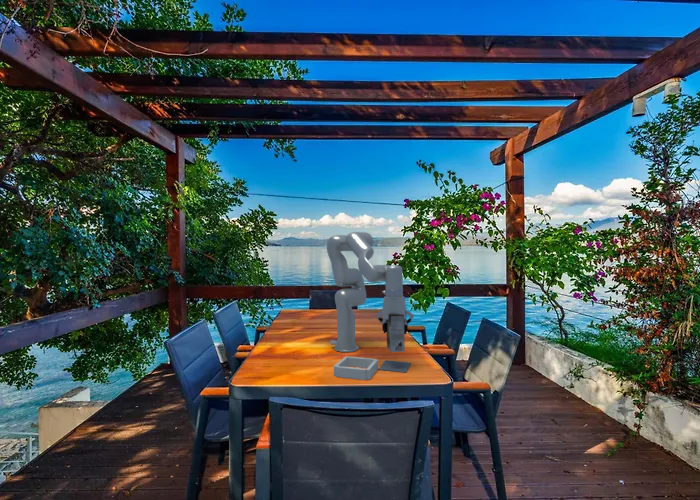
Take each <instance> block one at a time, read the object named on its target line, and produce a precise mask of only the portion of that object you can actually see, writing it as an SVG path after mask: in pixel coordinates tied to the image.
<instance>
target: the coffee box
mask: <svg viewBox="0 0 700 500" xmlns="http://www.w3.org/2000/svg"><path fill="white" fill-rule="evenodd" d="M386 323H387V332H386V347H387V350H389V352H390V353H401V352H402V353H405V352H406V350H405V334H404V315H403V314H389V315H388V320H387V321H386Z"/></svg>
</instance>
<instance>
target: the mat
mask: <svg viewBox="0 0 700 500" xmlns="http://www.w3.org/2000/svg"><path fill="white" fill-rule="evenodd" d="M411 364H412V362H409V361H399V360H397V361H396V360H388V359H387V360H384V361H383V362H382V364H381V365H380V366H379V367H378V370H377V371H384V372H394V373H396V372H397V373H403V374H404V373H407V372H408V370H409V368H410V367H411Z"/></svg>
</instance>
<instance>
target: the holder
mask: <svg viewBox="0 0 700 500" xmlns="http://www.w3.org/2000/svg"><path fill="white" fill-rule="evenodd" d="M378 369H379V359H376V358H370V357H359V356H358V357H357V356H344V357H342V359H340V360H339V361H338V362H337V363H336V364H334V366H333V377H337V378H343V379H353V380H361V381H362V380H363V381H366V380H367V381H371V379H372V378H373V376H374V375H375V374H376V373H377V371H379V370H378Z"/></svg>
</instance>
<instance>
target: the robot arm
mask: <svg viewBox="0 0 700 500" xmlns="http://www.w3.org/2000/svg"><path fill="white" fill-rule="evenodd" d="M373 244H374V239H373V236H372V235H371V234H370V232H369V233H368V232H366V231H361V232H360V231H353V232H350V233H348V234H347V235H345V234H344V235H343V234H337V235H333V236H330V237H329V238H328V240H327V243H326V252H327V256H328V258H329V261H330V264H331V269H332V274H333V275H332V276H333V280H334V284H335V285H336V286H337V287H341V288H342V289H339V290H337V291H336V293H334V303H335V306H336V327H337V328H336V331H337V332H336V336H337V339H336V340H335V339H331V340H330V346H331V345H334V350H335V351H336V352H338V351H339V352H338V353H352V352H357V351H358V350H359V346H358V345H357V344H356V314H355V311H354V310H353V308H352V307H358V306H362V305H364V304H365V303H366V301H367V290H366V287H365V281H364V278H365V280H367V281H368V282H371V283H378V282H379V283H380V282H385V290H382V294H383V295H384V297H383V301H382V310H380V311H379V312H376V313H375V316H376V318H377V319H378V321H379V322H380V323H381V324H382V331H383V334H387V323H386V321H387V320H388V315H389V314H403V315H404V335H406V334H407V333H408V331H409V330H408V329H409V326H408V325H409V323H411V321H413V319H414V317H415V314H413V313H412V312H410V311H408V310H407V305H406V303H407V302H406V298H405V296H404V288H403V287H404V286H403V285H404V284H403V283H404V282H403V281H404V279H403V276H404V275H403V267H402V266H401V265H389V264H374V265H373V264H372V263H371V262H370V261H369V260H370V259H372V258H373V255H374V248H373V247H372V246H373ZM342 252H352V253H353V254H354V255H355V256H356V257H357V259H358V260H357V267H358V268H355V267H354V268H352V267H351V268H350V267H349V266H348V260H347V258H346V257H345V255H344V254H343V253H342ZM343 287H347V288H343ZM348 287H349V288H348ZM381 315H382V317H381ZM407 316H409V318H408V319H407Z"/></svg>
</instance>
